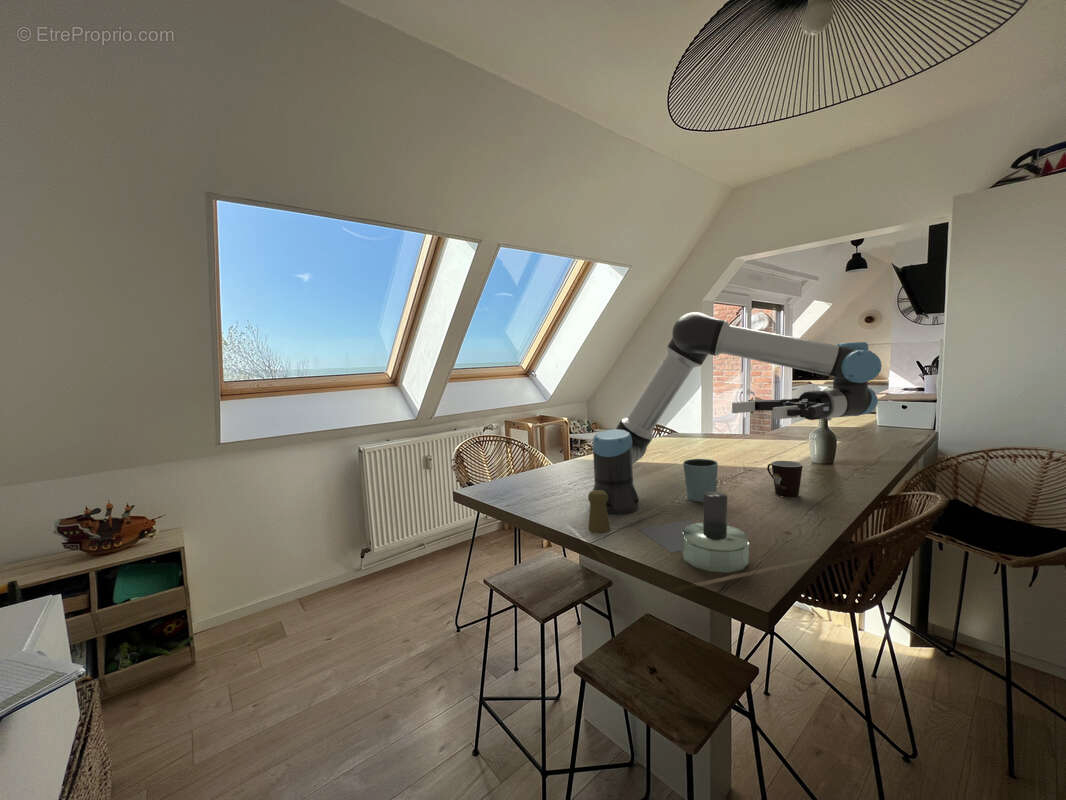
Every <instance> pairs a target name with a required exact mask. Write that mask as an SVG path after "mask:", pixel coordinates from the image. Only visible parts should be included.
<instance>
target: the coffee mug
mask: <svg viewBox="0 0 1066 800" xmlns="http://www.w3.org/2000/svg"><path fill="white" fill-rule="evenodd" d="M803 465H804V464H803V463H802V462H798V461H793V460H774V461H771V462H770V463H768V464H767V469H766V470H767V472H768V474H769V476H770V477H771V478H772V480H773V487H774V492H775V495H776V494H777V495H779V496H778V497H780V496H783V497H782V498H786V497H795V498H798V497H799V496H800V486H801V480H802V473H803ZM770 468H771V470H770ZM771 471H772V472H771ZM777 495H776V496H777ZM798 495H799V496H798ZM797 496H798V497H797Z"/></svg>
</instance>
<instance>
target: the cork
mask: <svg viewBox="0 0 1066 800" xmlns="http://www.w3.org/2000/svg"><path fill="white" fill-rule="evenodd" d="M587 498H588V499H587V500H588V502H589V517H588V528H587V529H588V531H589V532H591V533H595V534H605V533H608V532H610V531H611V526H610V525H611V524H610V519H609V514H608V513H607V507H606V502H607V501H608V496H607V493H606V492H605V491H603V490H593V489H592V491H590V492H589V493H588V495H587ZM590 503H591V504H590Z"/></svg>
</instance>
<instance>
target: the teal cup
mask: <svg viewBox="0 0 1066 800" xmlns="http://www.w3.org/2000/svg"><path fill="white" fill-rule="evenodd" d="M682 464H683V471H684V480H685V486H686V495H687V500H688V501H689V500H690V501H689V502H692V501H694V502H698V503H699V502H701V503H704V493H706V492H717V487H718V485H717V483H718V480H717V478H718V467H719V465H718V464H719V463H718V461H716V460H713V459H710V458H709V459H708V458H707V459H706V458H692V459H686V460H684V461H683V463H682Z"/></svg>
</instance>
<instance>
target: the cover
mask: <svg viewBox="0 0 1066 800" xmlns="http://www.w3.org/2000/svg"><path fill="white" fill-rule="evenodd" d="M702 520H703V521H702V522H694V523H695V524H691V525H689V526H687V527H685V529H684V531H683V551H682V557H683V561H684V562H686V563H688V564H689V565H690V566H692V567H693V568H697V569H700V570H704V571H707V572H710V573H711V572H713V573H716V572H717V573H726V574H728V573H729V574H730V573H733V572H738V571H742V570H744V569H745V568H747V567H746V566H748V565H749V562H750V561H749V560H750V559H749V558H750V556H749V553H750V542H749V537H748V535H747V534H746V533H745V532H744V531H743V530H740V529H739V528H737V527H734V526H731V525H728V495H727V494H725V493H723V492H719V491H716V492H706V493H704V502H703V519H702Z"/></svg>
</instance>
